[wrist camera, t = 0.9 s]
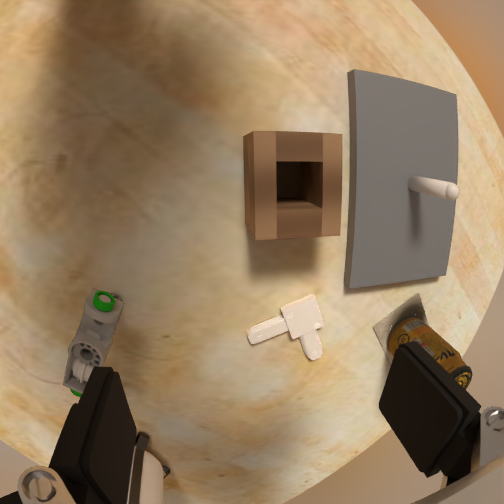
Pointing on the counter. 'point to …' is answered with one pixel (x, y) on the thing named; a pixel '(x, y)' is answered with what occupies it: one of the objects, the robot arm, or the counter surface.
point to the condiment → (420, 339)
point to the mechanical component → (92, 338)
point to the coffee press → (145, 475)
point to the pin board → (400, 180)
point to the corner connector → (294, 325)
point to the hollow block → (311, 184)
